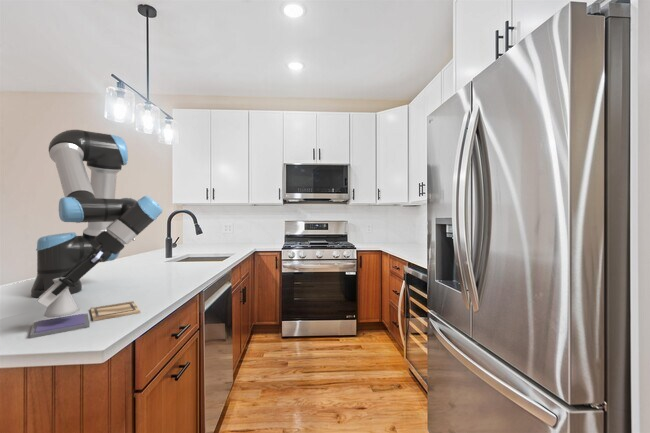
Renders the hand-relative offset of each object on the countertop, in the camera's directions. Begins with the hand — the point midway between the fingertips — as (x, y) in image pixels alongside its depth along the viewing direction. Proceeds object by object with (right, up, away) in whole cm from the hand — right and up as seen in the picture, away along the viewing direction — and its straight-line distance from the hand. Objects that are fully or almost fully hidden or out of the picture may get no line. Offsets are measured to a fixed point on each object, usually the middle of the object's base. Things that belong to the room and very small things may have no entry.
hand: (43, 301), depth 84 cm
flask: (+3, -4, +2) cm, 6 cm away
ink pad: (+3, -7, +2) cm, 8 cm away
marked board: (+9, -7, +15) cm, 19 cm away
